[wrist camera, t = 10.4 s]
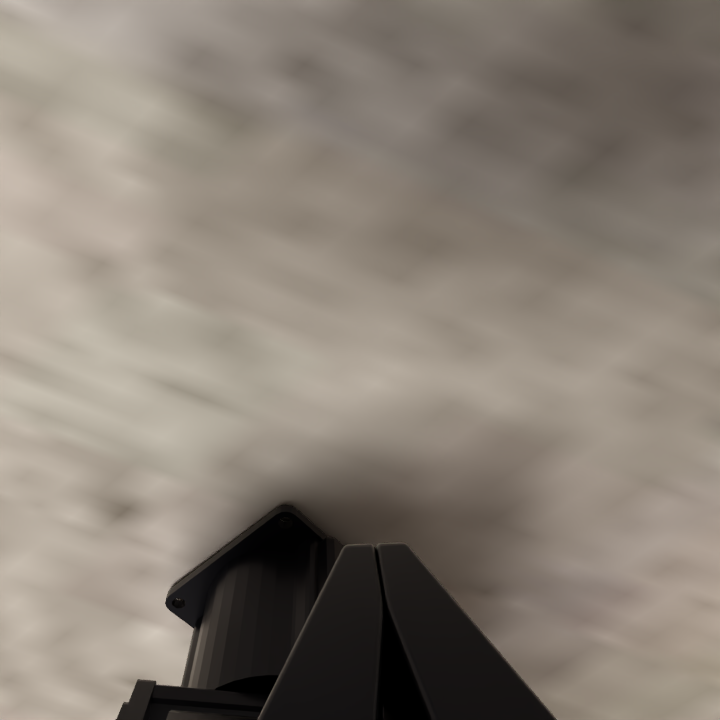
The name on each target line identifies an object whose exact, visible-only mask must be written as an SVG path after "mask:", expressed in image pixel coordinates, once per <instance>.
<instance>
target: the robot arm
mask: <svg viewBox="0 0 720 720" xmlns="http://www.w3.org/2000/svg"><path fill="white" fill-rule="evenodd" d="M283 517H288V518H290V519H291V521H288V522H284V521H282V520H280V519H281V518H283ZM176 598H181V599H183V601H179V600H177V599H176ZM165 604H166V607H167V608H168V609H169V610H170V611H171V612H173V613H174V614H175V615H177V616H178V617H179V618H181V619H182V620H183V621H185V622H186V623H187V624H189V625H190V626H191V627H193V628H194V631H193V636H192V640H191V645H190V649H189V654H188V658H187V662H186V667H185V671H184V676H183V680H182V685H181V687H179V686H167V685H156V681H151V680H140V679H138V680H137V683H136V685H135V688H134V690H133V693H132V695H131V698H130V701H129V702H124V703H123V705H122V707H121V710H120V712H119V715H118V717H117V719H116V720H557V719H556V718H555V717H554V716H553V714H552V713H551V712H550V711H549V710H548V709H547V707H546V706H545V705H544V704H543V703H542V702H541V700H540V699H539V698H538V697H537V696H536V695H535V693H534V692H533V691H532V690H531V689H530V688H529V686H528V685H527V684H526V683H525V682H524V680H523V679H522V678H521V677H520V676H519V675H518V673H517V672H516V671H515V670H514V669H513V668H512V666H511V665H510V664H509V663H508V662H507V661H506V659H505V658H504V657H503V656H502V655H501V654H500V652H499V651H498V650H497V649H496V648H495V647H494V645H493V644H492V643H491V642H490V641H489V639H488V638H487V637H486V636H485V635H484V634H483V632H482V631H481V630H480V629H479V628H478V627H477V625H476V624H475V623H474V622H473V621H472V620H471V618H470V617H469V616H468V615H467V614H466V613H465V611H464V610H463V609H462V608H461V607H460V605H459V604H458V603H457V602H456V601H455V600H454V598H453V597H452V596H451V595H450V594H449V593H448V591H447V590H446V589H445V588H444V587H443V586H442V584H441V583H440V582H439V581H438V580H437V579H436V577H435V576H434V575H433V574H432V573H431V571H430V570H429V569H428V568H427V567H426V566H425V564H424V563H423V562H422V561H421V560H420V559H419V557H418V556H417V555H416V554H415V553H414V552H413V550H412V549H411V548H410V547H409V546H408V545H407V544H406V543H403V542H396V543H379V544H378V545H377V546H376V548H375V547H374V546H373V545H372V544H348V545H345V546H343V545H342V544H341V543H340V542H339V541H338V540H337V539H336V538H333V537H327V536H326V535H325V534H324V533H323V532H322V531H321V530H320V529H319V528H317V527H316V526H315V525H314V524H313V523H312V522H311V521H310V520H308V519H307V518H306V517H305V516H304V515H303V514H302V513H301V512H300V511H298V510H297V509H296V508H295V507H293V506H290V505H281V506H279V507H277V508H276V509H275V510H273V511H272V512H271V513H269V514H268V515H267V516H265V517H264V518H263V519H261V520H260V521H259V522H257V523H256V524H255V525H253V526H252V527H251V528H250V529H248V530H247V531H246V532H244V533H243V534H242V535H240V536H239V537H238V538H236V539H235V540H234V541H232V542H231V543H230V544H229V545H227V546H226V547H225V548H223V549H222V550H221V551H219V552H218V553H217V554H215V555H214V556H213V557H211V558H210V559H209V560H208V561H206V562H205V563H204V564H202V565H201V566H200V567H198V568H197V569H196V570H194V571H193V572H192V573H190V574H189V575H188V576H187V577H185V578H184V579H183V580H181V581H180V582H179V583H177V584H176V585H175V586H173V587H172V588H171V589H170V590H169V591H168V594H167V598H166V602H165Z"/></svg>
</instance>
